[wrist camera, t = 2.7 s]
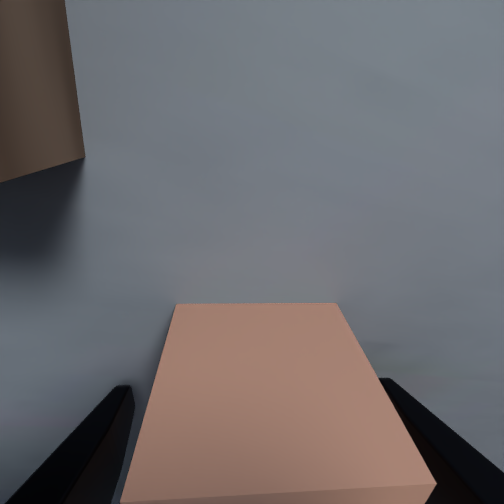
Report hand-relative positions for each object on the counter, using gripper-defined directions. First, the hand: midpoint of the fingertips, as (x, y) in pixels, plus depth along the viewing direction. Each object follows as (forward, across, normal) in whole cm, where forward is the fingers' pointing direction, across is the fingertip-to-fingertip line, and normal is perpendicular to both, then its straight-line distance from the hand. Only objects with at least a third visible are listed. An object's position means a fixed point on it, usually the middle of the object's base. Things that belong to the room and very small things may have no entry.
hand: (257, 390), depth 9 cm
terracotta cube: (+1, 0, 0) cm, 1 cm away
